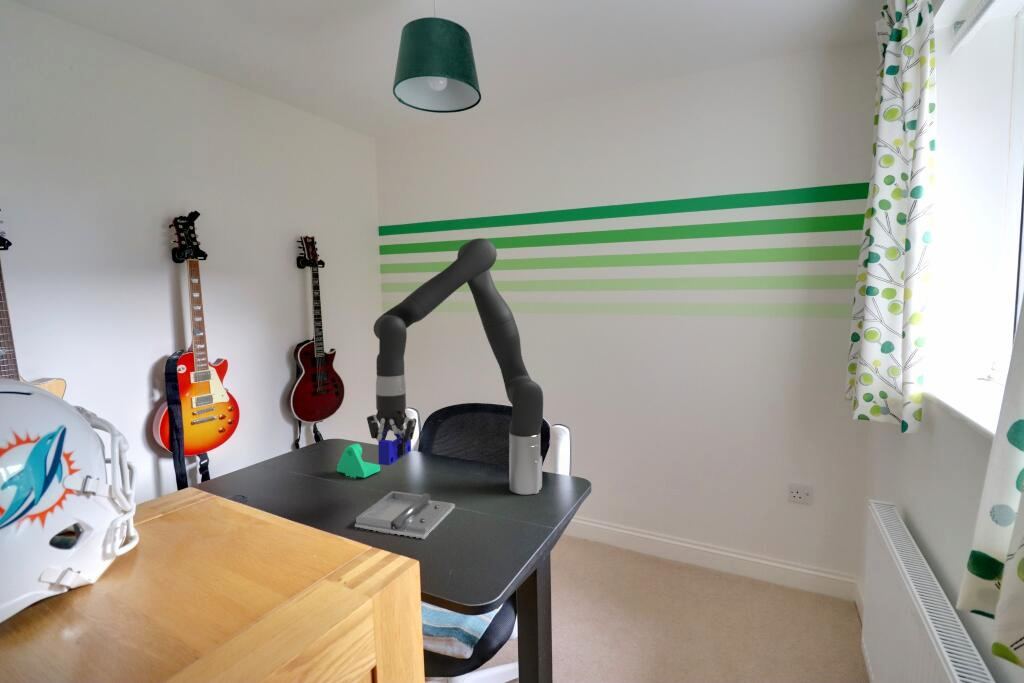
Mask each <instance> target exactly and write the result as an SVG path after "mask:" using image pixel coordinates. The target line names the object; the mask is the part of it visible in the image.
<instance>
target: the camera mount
mask: <svg viewBox="0 0 1024 683" xmlns="http://www.w3.org/2000/svg"><path fill="white" fill-rule="evenodd" d="M362 454H363V448H362V446H361V445H360V443H353V444H350V445H348V446H346V447H345V449H344V450H343V453H342V455H341V457H340V459H339V462H338V464H337V466H336V472H338V473H343V474H344V476H345V475H346V476H345V477H347V476H350V477H349V478H352V477H355V478H354V479H357V478H356V477H358V478H364V479H365V478H367V477H369V476H371V475H374V474H376V473H378V472H379V471H380V472H381V465H380V464H378V463H377V464H376V463H371V462H367V461H363V458H362Z"/></svg>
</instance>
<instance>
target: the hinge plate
mask: <svg viewBox="0 0 1024 683" xmlns="http://www.w3.org/2000/svg"><path fill="white" fill-rule="evenodd" d="M455 508H456V504H455V503H453V502H446V501H440V500H431V495H430V494H429V493H427V492H425V493H423V494H418V493H411V492H410V493H409V492H402V491H395V490H394V491H393V490H391V491H390V492H389V493H387V494H386V495H385V496H384V497H382V498H380V499H379V500H378V501H377V502H376V503H374V504H372V505H371V506H370V507H368V508H367V509H366V510H365V511H363V512H362V513H360V514H359V515H357V516H356V518H355V523H354V528H355V527H360V528H364V529H369V530H373V531H372V532H376V531H378V532H377V533H384V534H389V533H390V534H389V535H394V534H397V535H396V536H400V535H404V536H403V537H407V536H409V537H408V538H413V537H416V538H415V539H419V538H421V539H420V540H425V539H426V538H427V537H428V536H429V535H430V534H431V533H432V532H433V531H434V530H435V529H436V528H437V526H438V525H439V524H440V523H442V522H443V520H444V519H445V518H446V517H447V516H448V515H449V514H451V512H452V511H453V510H454V509H455ZM369 530H368V531H369ZM432 530H433V531H432ZM431 531H432V532H431ZM430 532H431V533H430ZM429 533H430V534H429Z"/></svg>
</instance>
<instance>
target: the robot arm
mask: <svg viewBox="0 0 1024 683" xmlns="http://www.w3.org/2000/svg"><path fill="white" fill-rule="evenodd" d="M497 256H498V254H497V250H496V247H495V245H494V244H493V243H492V242H491V241H490V240H489V239H487V238H481V237H479V238H478V237H477V238H473V239H471V240H470V241H468V242H465V243H464V244H462V245H461V246H460V247H459V249H458V252H457V258H456V259H455V260H454V261H453V262H452V263H451V264H450V265H448V266H447V267H445V269H443V270H442V271H440V272H439V273H437V274H436V275H434V276H433V277H431V278H430V279H429V280H427V281H425V282H424V283H422V284H421V285H419V287H417V288H416V289H415V290H414V291H412V292H411V293H409V295H408V296H406V298H404V299H403V300H402V301H401V302H400V303H398V304H397V305H394V306H393V307H392V308H390V309H389V310H387V311H386V312H385V313H382V314H381V316H379V317H378V318H377V319H376V320H375V322H374V324H373V332H374V333H373V334H374V336H375V337H376V338H377V339H378V340H379V341H378V342H379V344H378V345H379V347H378V348H379V349H378V351H379V352H378V354H377V356H376V366H375V367H376V368H375V369H376V378H375V379H376V380H375V400H376V401H375V406H376V411H377V412H376V414H372V415H371V414H370V415H369V416H367V418H366V420H367V424H368V425H367V426H368V429H369V434H370V437H371V439H373V440H376V441H377V445H378V451H379V441H380V440H387V439H386V438H387V436H388V432H390V431H391V432H393V435H394V436H395V439H397V441H398V444H397V451H398V457H400V459H401V458H403V457H404V456H405V455H404V454H405V453H406V442H408V441H410V440H411V441H412V440H413V438H414V434H415V429H416V424H417V419H416V418H411V417H408V416H407V414H406V408H407V400H406V399H407V396H406V395H407V394H406V393H407V391H406V390H407V388H406V385H407V384H406V377H405V353H406V346H407V345H406V344H407V338H408V337H407V336H408V335H407V332H408V331H407V329H409V328H410V326H412V325H413V324H414V323H415V324H416V323H417V322H420V321H422V320H423V319H425V318H426V317H427V316H428V315H429V314H430V313H432V312H433V311H434V310H435V309H437V307H439V306H440V305H441V304H442V303H443V302H445V301H446V300H447V299H449V297H450V296H451V295H453V294H454V292H456V291H457V290H458V289H459V288H461V287H462V286H464V285H465V284H467V286H468V287H469V290H470V292H471V294H472V297H473V300H474V304H475V306H476V307H475V308H476V309H477V312H478V315H479V317H480V318H479V319H480V320H481V324H482V327H483V330H484V333H485V335H486V339H487V342H488V343H489V346H490V348H491V351H492V352H493V356H494V357H495V358H494V359H496V362H497V364H498V367H499V369H500V372H501V376H502V379H503V380H502V381H503V384H504V389H505V392H506V397H507V400H508V401H509V402H510V404H511V406H512V407H511V411H512V412H511V421H510V423H509V425H508V426H509V427H508V430H509V431H508V435H509V437H508V438H509V442H508V446H509V449H508V451H509V454H508V456H509V457H508V460H509V461H508V462H509V463H508V464H509V465H508V466H509V470H508V471H509V474H508V475H509V479H508V480H509V490H510V492H512V493H514V494H518V495H533V494H534V495H538V494H539V492H540V491H539V490H541V489H542V487H543V456H542V455H541V429H542V428H541V427H542V425H543V420H544V419H543V417H544V394H543V390H542V388H541V386H540V385H539V384H538V383H537V382H536V381H534V380H532V378H531V377H530V374H529V372H528V370H527V367H526V365H525V363H524V361H523V356H522V347H521V338H520V333H519V328H518V326H517V324H516V320H515V317H514V314H513V311H512V310H511V308H510V306H509V305H508V304H507V302H506V300H505V299H504V298H503V297H502V295H501V294H500V292H499V291H498V289H497V287H496V285H495V284H494V283H495V282H494V280H493V278H492V274H491V271H490V269H491V268H493V266H494V265H495V263H496V261H497ZM404 424H405V425H404ZM405 428H406V432H405ZM398 430H399V431H398ZM537 493H538V494H537Z"/></svg>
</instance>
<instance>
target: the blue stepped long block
mask: <svg viewBox="0 0 1024 683" xmlns="http://www.w3.org/2000/svg"><path fill="white" fill-rule="evenodd" d="M399 430H400V429H399ZM399 430H398V431H399ZM405 432H406V429H405ZM397 444H398V441H397V438H395V439H392V440H390V439H385V440H380V441H379V450H378V465H380V466H382V465H383V466H391V465H392V464H394V463H396V462H397V461H398V460H400V459H401V458H400V457H398V451H397ZM411 451H412V439H411V440H410V441H408V442H406V453H405V454H404V456H407V454H409V453H410V452H411Z"/></svg>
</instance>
